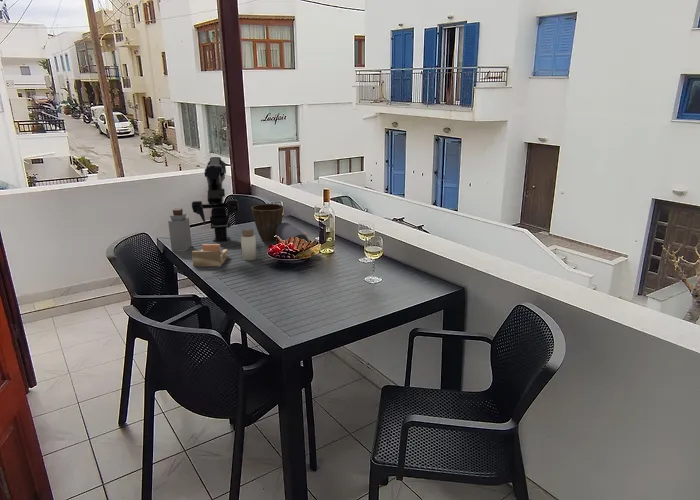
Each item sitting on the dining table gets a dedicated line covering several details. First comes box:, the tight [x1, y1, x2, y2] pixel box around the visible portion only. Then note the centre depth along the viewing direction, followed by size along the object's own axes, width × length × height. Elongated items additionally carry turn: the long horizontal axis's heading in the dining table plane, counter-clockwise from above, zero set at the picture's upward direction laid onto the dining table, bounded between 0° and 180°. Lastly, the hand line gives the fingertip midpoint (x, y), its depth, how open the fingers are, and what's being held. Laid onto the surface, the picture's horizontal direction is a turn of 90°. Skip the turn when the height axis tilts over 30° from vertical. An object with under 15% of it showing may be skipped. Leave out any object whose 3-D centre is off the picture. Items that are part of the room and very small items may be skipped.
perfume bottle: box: [167, 208, 193, 251], centre depth 210 cm, size 7×7×18 cm
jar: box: [240, 228, 258, 261], centre depth 197 cm, size 6×6×12 cm
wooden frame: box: [191, 248, 229, 267], centre depth 194 cm, size 12×11×6 cm
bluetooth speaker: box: [276, 222, 310, 243], centre depth 211 cm, size 23×9×10 cm, turn 25°
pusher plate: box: [201, 243, 222, 253], centre depth 195 cm, size 1×7×6 cm, turn 89°
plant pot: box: [251, 203, 284, 242], centre depth 223 cm, size 15×15×16 cm
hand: (216, 224), depth 195 cm, fingers open, 9 cm apart
